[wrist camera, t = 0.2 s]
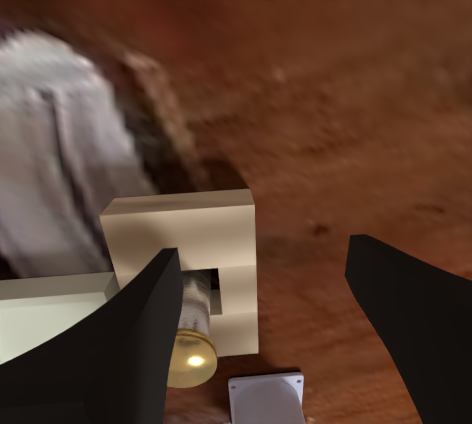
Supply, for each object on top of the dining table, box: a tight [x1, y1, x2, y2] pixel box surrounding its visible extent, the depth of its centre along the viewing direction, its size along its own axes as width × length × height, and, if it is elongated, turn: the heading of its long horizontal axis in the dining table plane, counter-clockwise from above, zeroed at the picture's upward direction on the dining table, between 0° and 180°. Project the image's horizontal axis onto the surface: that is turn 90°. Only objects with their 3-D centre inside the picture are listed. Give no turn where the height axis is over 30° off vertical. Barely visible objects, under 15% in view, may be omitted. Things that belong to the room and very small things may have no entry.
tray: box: [0, 272, 120, 364], centre depth 25 cm, size 13×13×2 cm
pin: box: [167, 268, 217, 388], centre depth 20 cm, size 4×4×9 cm
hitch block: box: [99, 189, 258, 357], centre depth 23 cm, size 14×10×3 cm
